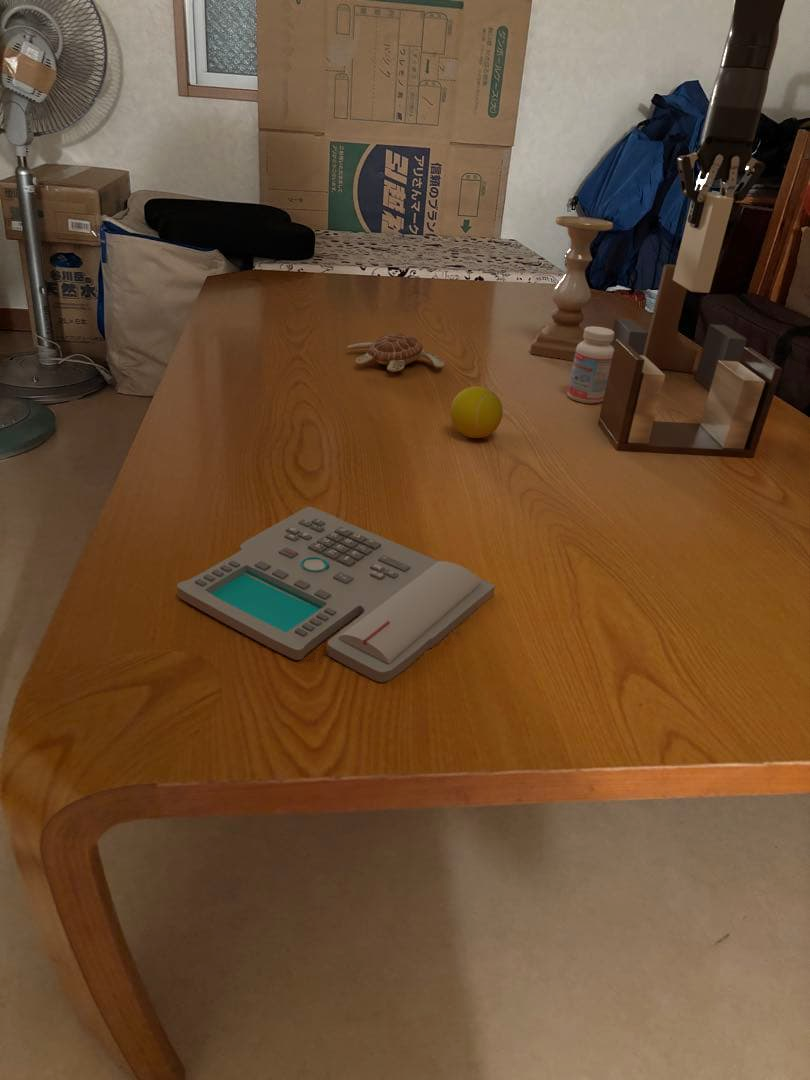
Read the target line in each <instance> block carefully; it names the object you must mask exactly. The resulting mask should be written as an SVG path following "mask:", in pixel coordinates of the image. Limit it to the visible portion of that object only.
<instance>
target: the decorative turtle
mask: <svg viewBox="0 0 810 1080" xmlns="http://www.w3.org/2000/svg"><path fill="white" fill-rule="evenodd" d="M423 347H424V346H423V344H422V343H421V342H419V339H418V338H416V336H415V337H414V336H410V335H408V334H404V333H401V332H398V333H397V332H396V333H395V332H394V333H389V334H384V335H382V336H380V337H379V338H378V339H376V340H374V341H365V342H359V343H354V344H349V345H348V346H346V348H347V349H348V350H351V351H352V350H361V349H367V350H366V353H364V354H362V355H359V356H358V357H357V358H356V359H355V364H357V365H359V366H360V365H363V364H367V363H368V362H370V361H375V362H377V363H379V364H380V365H385V366H387V368H386V369H387V371H388V372H391V373H394V372H400V371H402V370H404V368H405V367H406V365H408V364H411V363H412V362H415V361H417V360H418V359H419V358H421V357H423V358H425V359H427V360H428V361H430V363H432V364H433V366H434V368H435V369H440V368H443V367H444V366H445V361H444V360H443V359H442V357H441V356H439V355H437V354H434V353H433V352H431V351H428V350H426V349H424V348H423Z"/></svg>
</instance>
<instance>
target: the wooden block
mask: <svg viewBox="0 0 810 1080" xmlns="http://www.w3.org/2000/svg"><path fill="white" fill-rule="evenodd" d="M675 267H676V264H671V263H670V264H669V263H665V264H664V265H663V268H662V273H661V277H660V281H659V285H658V290H657V293H656V294H657V295H656V297H655V303H654V306H653V311H652V316H651V319H650V324H649V328H648V331H647V332H648V335H647V339H646V344H645V348H644V352H643V356H645V357H646V358H648V359H649V360H650V361H651V362H652V363H653V364H654V365H655V366H656V367H657V368H658V369H659V370H666V371H674V372H681V373H690V374H691V373H692V372H693V370H694V366H695V362H696V359H697V355H698V347H697V345H696V344H695V343H694V342H690V341H687V340H684V339H682V337H681V336H680V334H679V323H680V320H681V316H682V312H683V308H684V304H685V301H686V300H685V299H686V296H687V292H688V289H686V288H685V287H683V286H682V285H680V284H678V283H677V282H675V281H673V276H674V271H675Z"/></svg>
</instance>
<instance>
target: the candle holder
mask: <svg viewBox="0 0 810 1080" xmlns="http://www.w3.org/2000/svg"><path fill="white" fill-rule="evenodd" d="M555 223H556V225H558V226H561V227H564V228H566V229H567V235H568V237H569V240H570V245H569V248H568V250H567V251H566V252H565V253H564V255H563V259H565V264H566V270H565V273H563V276H562V277H561V278H560V280H559V281H558V282H557V283H556V284H555V286H554V287H553V289H552V291H551V300H552V302H553V303H554V305H556V307H555V308H554V309H553V310H552V312H551V319H552V320H553V322H551V323H549V324H547V325H543V326H542V327H541V329H540V330H539V332H538V333H537V335H536V336H535V338H534V339H533V340H532V342H531V345H530V351H529V354H530V355H533V354H535V355H534V356H538V355H541V356H540V357H545V356H547V357H546V358H551V357H553V358H552V359H557V358H560V359H559V360H564V359H565V360H564V361H571V362H574V357H575V352H576V348H577V345H578V344H579V343H580V342H582V341H584V338H583V337H584V336H583V334H584V330H585V329H584V328H583V327H582V326H580V324H582V322H583V321H584V319H585V315H584V312H583V311H582V309H584V308H586V307H587V306H588V305H589V304H590V302H591V299H592V293H591V289H590V287H589V284H588V281H587V279H586V278H587V277H586V269H587V267H588V266H589V265H590V263H591V262H592V261H593V257H592V254H591V250H590V248H591V244H592V242H593V241H594V240H595V239H596V238H597V237H598V235H599V232H606V231H611V230H612V229H613V227H614V223H613V222H612V221H608V220H605V219H599V218H595V217H594V218H593V217H587V216H575V215H574V216H573V215H561V216H557V217H556V218H555Z"/></svg>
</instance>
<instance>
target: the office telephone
mask: <svg viewBox="0 0 810 1080" xmlns="http://www.w3.org/2000/svg"><path fill="white" fill-rule="evenodd" d="M176 585H177V586H176V588H177V597H178V598H179V599H180V600H182V601H184V602H186V603H187V604H189V605H191V606H192V607H195V608H196V609H198V610H200V611H201V612H203V613H205V614H208V615H209V616H210V617H212V618H214V619H215V620H218V621H219V622H221V623H223V624H225V625H227V626H229V627H230V628H233V629H234V630H235V631H238V632H240V633H241V634H244V635H246V636H247V637H249V638H251V639H253V640H255V641H257V642H258V643H260V644H262V645H264V646H266V647H267V648H269V649H271V650H273V651H275V652H277V653H279V654H282V655H284V656H286V657H288V658H289V659H291V660H295V661H300V660H303V659H304V658H305V656H306V655H308V653H309V652H311V651H312V650H313V649H315V648H316V647H317V646H319V645H320V644H321V643H322V642H324V641H325V640H326V639H328V638H329V637H331V636H332V635H333V634H335V633H336V632H337V631H339V630H340V629H341V628H342V627H344V626H345V625H347V624H348V623H349V624H348V625H347V626H345V627H344V628H342V629H341V630H340V631H339V632H338V633H336V634H335V635H334V636H332V637H331V638H330V639H329V640H328V641H327V645H326V654H327V656H329V658H332V659H333V660H335V661H337V662H338V663H340V664H341V665H344V666H346V667H347V668H350V669H352V670H353V671H356V672H357V673H359V674H361V675H363V676H365V677H367V678H368V679H370V680H373V681H375V682H378V683H385V682H389V681H391V680H393V679H394V678H395V677H396V676H398V675H399V674H400V673H402V672H404V671H405V669H407V668H408V667H409V666H411V665H412V664H413V663H415V662H416V661H417V660H418V659H419V658H420V657H422V655H423V654H424V653H426V651H428V650H429V649H430V650H431V649H432V648H434V646H436V645H437V644H438V643H439V642H441V641H442V640H443V639H445V637H446V636H447V635H449V634H450V633H451V632H453V631H454V630H455V628H457V627H458V626H459V625H460V624H462V623H463V622H464V621H465V620H466V619H467V618H469V617H470V616H471V615H472V614H473V613H474V612H475V611H477V610H479V608H480V607H481V606H482V605H484V604H485V603H486V602H488V600H490V599H491V598H492V597H494V595H495V589H496V585H495V584H494V583H492V582H490V581H488V580H485V579H483V578H481V577H478V576H477V575H476V574H475V572H473V571H471V570H470V569H468V568H466V567H465V566H463V565H460V564H457V563H454V562H451V561H447V560H438V559H436V558H433V557H430V556H428V555H425V554H423V553H421V552H418V551H417V550H414V549H411V548H409V547H406V546H404V545H402V544H399V543H397V542H395V541H392V540H390V539H387V538H386V537H382V536H381V535H378V534H375V533H373V532H371V531H369V530H366V529H363V528H361V527H359V526H356V525H354V524H351V523H350V522H347V521H344V520H342V519H340V518H338V517H337V516H335V515H332V514H329V513H328V512H326V511H323V510H321V509H318V508H316V507H313V506H311V505H310V506H306V507H304V508H302V509H300V510H299V511H297V512H295V513H293V514H291V515H289V516H288V517H286V518H284V519H282V520H281V521H279V522H277V523H274V524H273V525H271V526H270V527H268V528H266V529H265V530H262V531H261V532H259V533H257V534H255V535H254V536H252V537H249V538H248V539H247V540H245V541H244V542H242V543H241V544H240V546H239V550H238V551H237V552H236V553H234V554H233V555H230V556H229V557H227V558H225V559H224V560H221V561H220V562H219V563H216V564H215V565H213V566H211V567H209V568H208V569H206V570H205V571H202V572H200V573H199V574H197V575H194V576H193V577H191V578H188V579H187V580H183V581H179V582H178V583H177V584H176ZM350 621H352V622H350Z"/></svg>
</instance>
